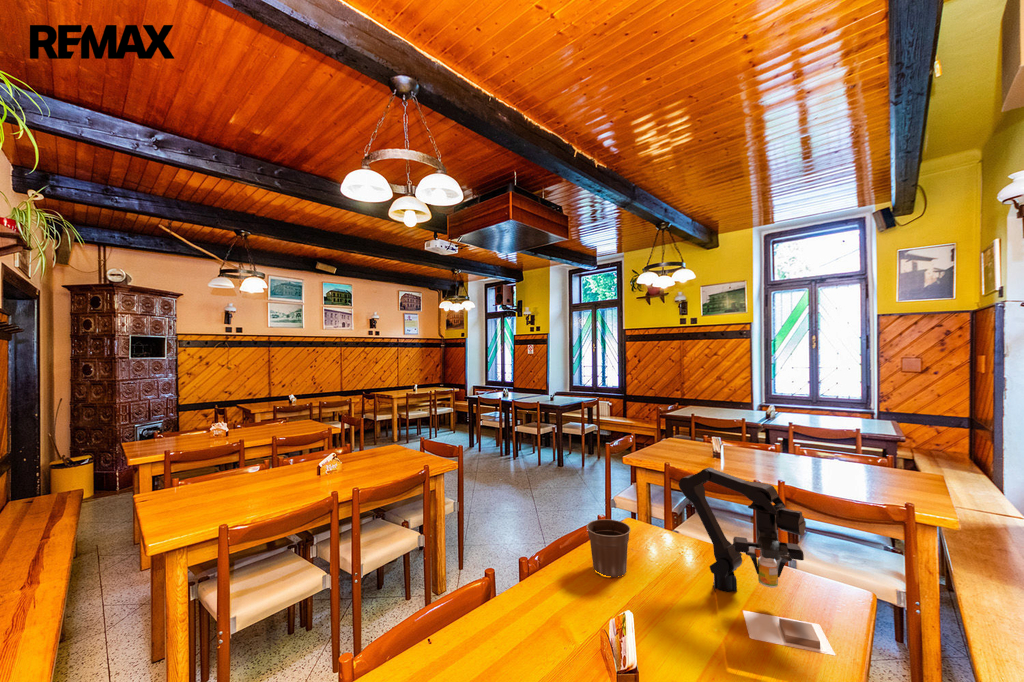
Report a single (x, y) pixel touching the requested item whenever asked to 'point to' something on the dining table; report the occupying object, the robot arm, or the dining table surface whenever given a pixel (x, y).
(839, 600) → the dining table surface
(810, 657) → the dining table surface
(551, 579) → the dining table surface
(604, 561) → the plant pot
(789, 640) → the grey plinth
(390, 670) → the dining table surface
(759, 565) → the supplement bottle
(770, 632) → the white flat board
